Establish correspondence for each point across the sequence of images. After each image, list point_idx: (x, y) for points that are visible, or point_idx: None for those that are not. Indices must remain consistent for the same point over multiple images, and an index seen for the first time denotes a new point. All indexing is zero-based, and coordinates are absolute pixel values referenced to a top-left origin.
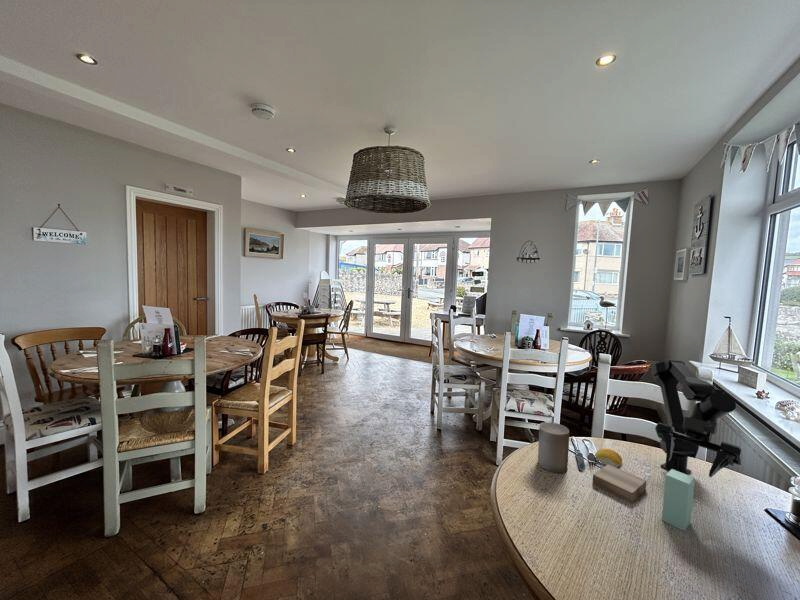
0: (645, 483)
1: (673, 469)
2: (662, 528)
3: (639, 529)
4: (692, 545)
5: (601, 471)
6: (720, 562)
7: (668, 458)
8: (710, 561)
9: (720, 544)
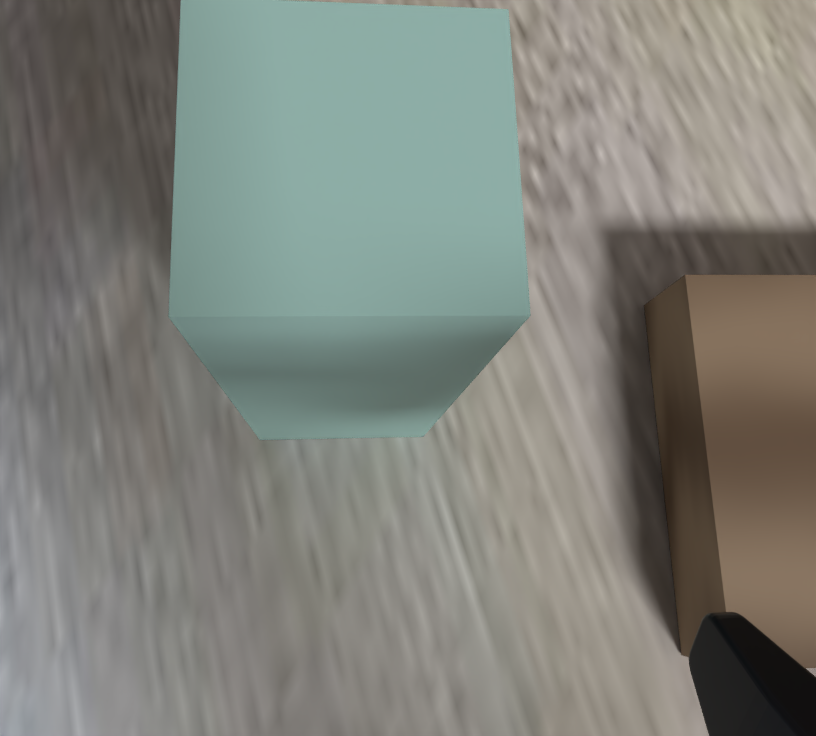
0: None
1: (504, 311)
2: None
3: None
4: None
5: None
6: (15, 126)
7: (732, 631)
8: (64, 82)
9: (43, 348)
